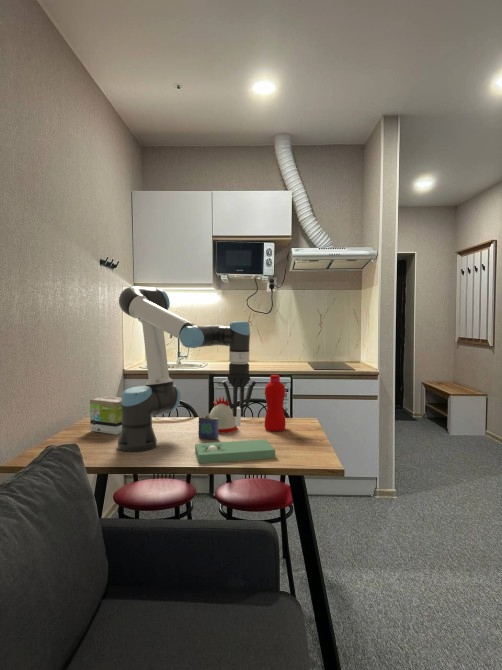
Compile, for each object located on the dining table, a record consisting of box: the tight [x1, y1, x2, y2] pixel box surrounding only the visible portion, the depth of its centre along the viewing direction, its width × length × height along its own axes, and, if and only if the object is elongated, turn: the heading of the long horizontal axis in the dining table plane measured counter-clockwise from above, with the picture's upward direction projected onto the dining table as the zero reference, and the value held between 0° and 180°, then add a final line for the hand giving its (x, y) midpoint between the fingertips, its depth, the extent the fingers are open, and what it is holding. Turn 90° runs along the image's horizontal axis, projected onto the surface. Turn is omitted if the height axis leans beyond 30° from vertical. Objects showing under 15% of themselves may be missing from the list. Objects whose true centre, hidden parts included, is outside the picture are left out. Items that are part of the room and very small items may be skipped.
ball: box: [207, 445, 218, 451], centre depth 164 cm, size 4×4×4 cm
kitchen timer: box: [209, 396, 238, 434], centre depth 204 cm, size 14×14×15 cm
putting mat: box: [194, 438, 276, 464], centre depth 166 cm, size 28×14×3 cm, turn 102°
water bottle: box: [264, 374, 286, 432], centre depth 203 cm, size 9×11×25 cm
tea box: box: [89, 395, 122, 436], centre depth 201 cm, size 15×10×15 cm, turn 68°
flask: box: [198, 413, 219, 441], centre depth 188 cm, size 9×3×11 cm, turn 68°
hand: (237, 425), depth 166 cm, fingers closed
